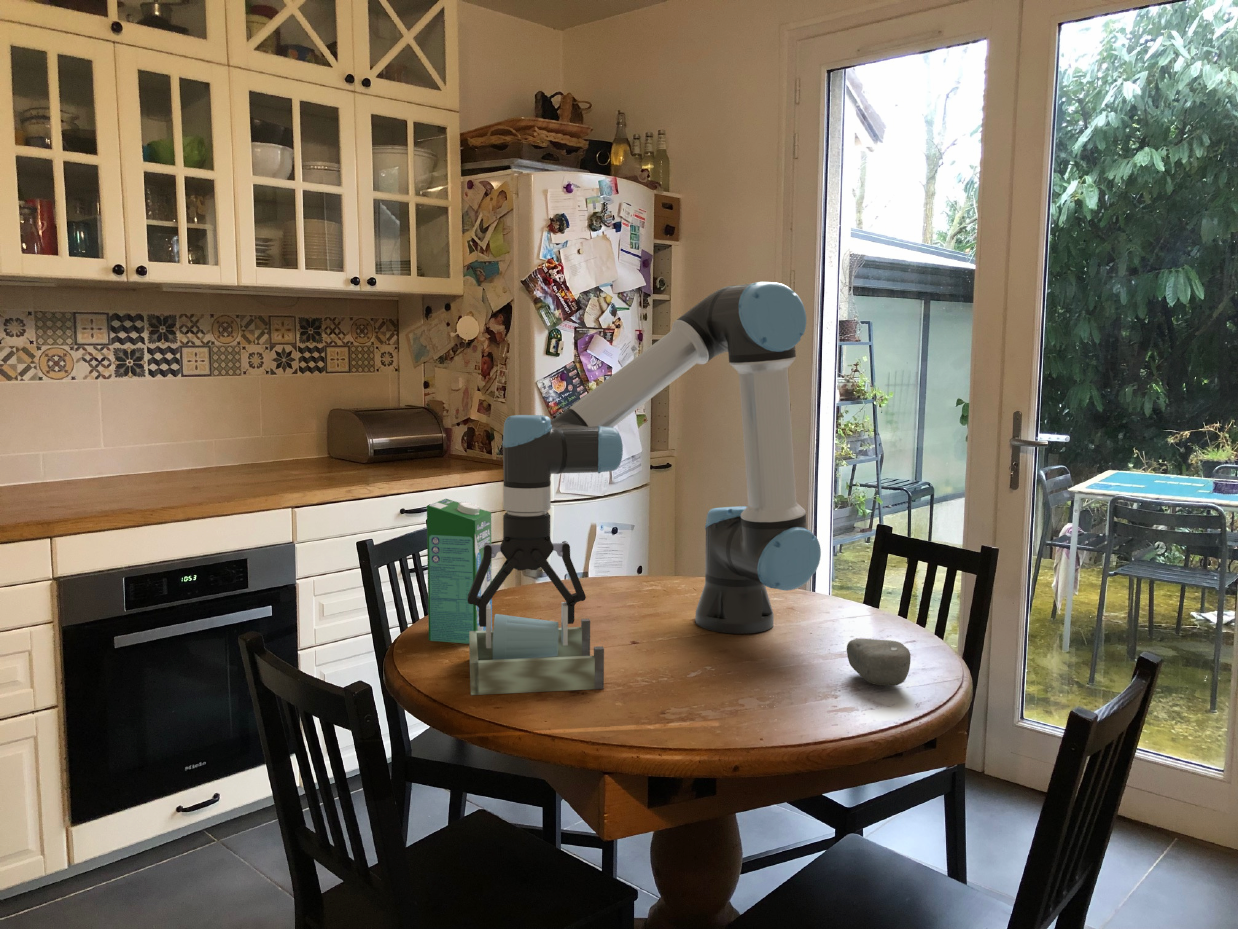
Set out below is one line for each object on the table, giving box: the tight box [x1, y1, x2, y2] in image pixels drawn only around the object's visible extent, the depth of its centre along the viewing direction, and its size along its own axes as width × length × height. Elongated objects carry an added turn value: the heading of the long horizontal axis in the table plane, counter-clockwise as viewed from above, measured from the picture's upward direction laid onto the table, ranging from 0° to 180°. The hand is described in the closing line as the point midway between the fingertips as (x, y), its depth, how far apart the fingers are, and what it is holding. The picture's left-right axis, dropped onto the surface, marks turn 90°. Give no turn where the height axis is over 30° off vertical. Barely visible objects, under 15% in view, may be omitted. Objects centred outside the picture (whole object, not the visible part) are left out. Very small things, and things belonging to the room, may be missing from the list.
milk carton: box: [426, 498, 493, 645], centre depth 178 cm, size 9×9×25 cm
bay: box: [468, 618, 605, 696], centre depth 158 cm, size 20×18×6 cm
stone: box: [846, 638, 911, 687], centre depth 156 cm, size 9×9×10 cm
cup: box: [492, 613, 560, 660], centre depth 158 cm, size 8×8×10 cm
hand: (526, 644), depth 158 cm, fingers closed on cup, 12 cm apart
